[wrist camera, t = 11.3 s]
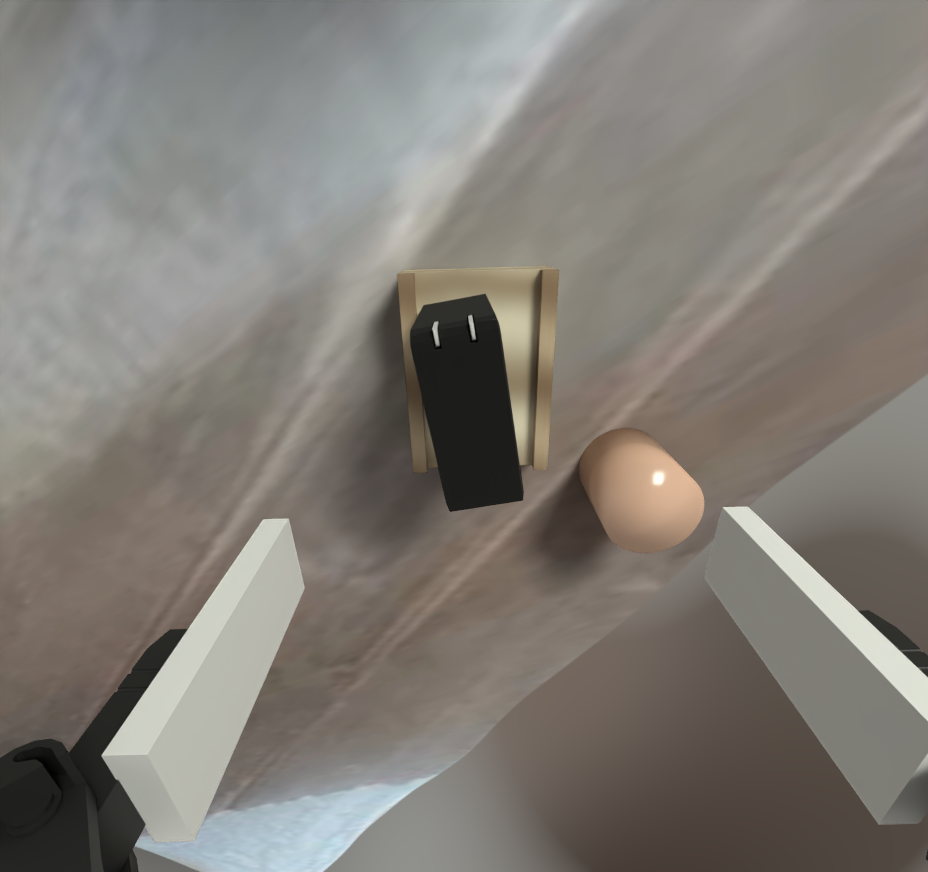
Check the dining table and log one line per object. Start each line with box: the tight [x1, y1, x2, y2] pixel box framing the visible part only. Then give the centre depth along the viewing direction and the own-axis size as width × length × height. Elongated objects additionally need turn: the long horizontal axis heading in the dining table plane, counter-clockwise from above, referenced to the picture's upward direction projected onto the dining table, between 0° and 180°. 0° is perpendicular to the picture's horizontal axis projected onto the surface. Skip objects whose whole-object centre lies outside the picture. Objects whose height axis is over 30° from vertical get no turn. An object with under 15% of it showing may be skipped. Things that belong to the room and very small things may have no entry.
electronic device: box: [410, 294, 524, 512], centre depth 26 cm, size 4×10×10 cm, turn 10°
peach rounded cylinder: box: [579, 428, 704, 553], centre depth 34 cm, size 7×7×7 cm
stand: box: [397, 266, 559, 473], centre depth 32 cm, size 14×10×4 cm
